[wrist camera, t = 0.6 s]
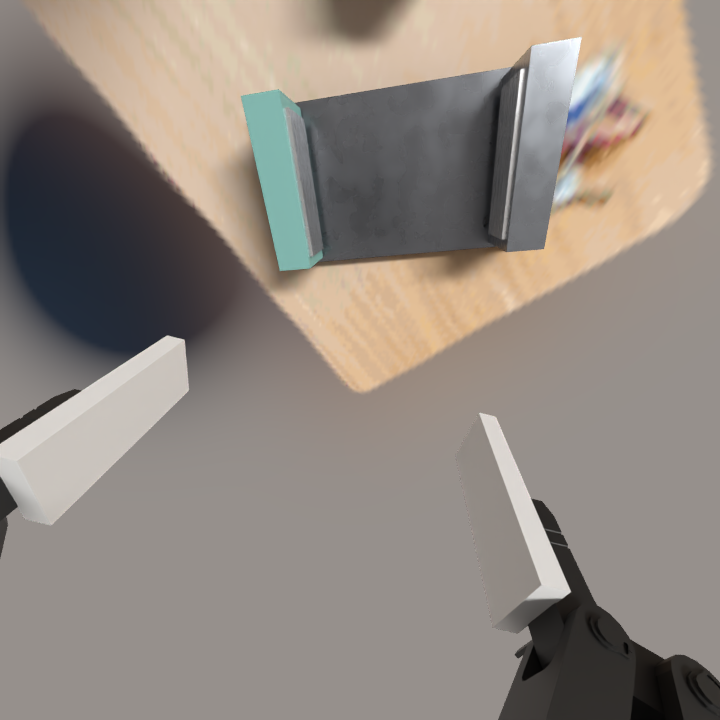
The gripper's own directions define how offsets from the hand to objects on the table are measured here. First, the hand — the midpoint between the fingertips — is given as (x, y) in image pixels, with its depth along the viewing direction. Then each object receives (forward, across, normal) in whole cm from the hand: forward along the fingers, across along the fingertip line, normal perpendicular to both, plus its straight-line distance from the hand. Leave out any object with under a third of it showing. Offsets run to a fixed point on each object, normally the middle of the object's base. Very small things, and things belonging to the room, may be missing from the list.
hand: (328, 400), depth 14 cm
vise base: (+25, +1, +9) cm, 27 cm away
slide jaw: (+24, -9, +6) cm, 26 cm away
